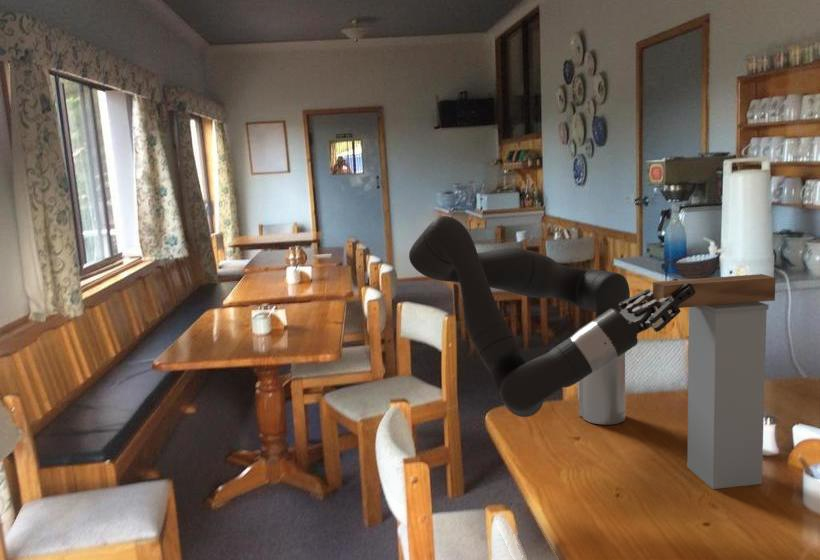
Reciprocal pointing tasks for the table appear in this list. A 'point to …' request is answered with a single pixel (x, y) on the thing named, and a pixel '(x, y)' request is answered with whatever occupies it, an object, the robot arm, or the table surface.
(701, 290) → the walnut bar
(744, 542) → the table surface
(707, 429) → the stand
